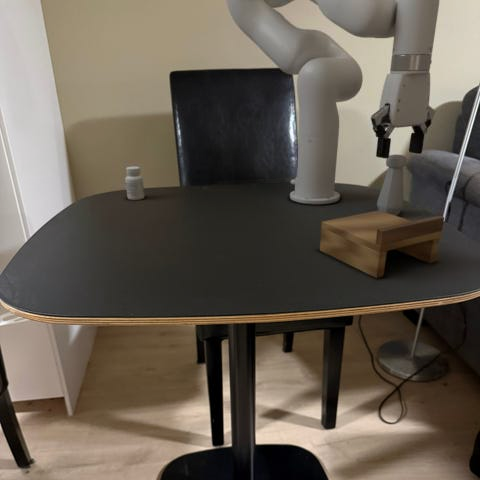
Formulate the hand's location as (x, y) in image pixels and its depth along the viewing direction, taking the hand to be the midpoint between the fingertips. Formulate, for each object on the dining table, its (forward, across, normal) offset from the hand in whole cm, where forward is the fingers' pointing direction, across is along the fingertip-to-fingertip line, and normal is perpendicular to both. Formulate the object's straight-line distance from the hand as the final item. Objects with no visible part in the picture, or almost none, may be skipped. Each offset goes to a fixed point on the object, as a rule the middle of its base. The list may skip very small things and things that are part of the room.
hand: (399, 155), depth 103 cm
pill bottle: (+12, +45, -46) cm, 65 cm away
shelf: (+13, +21, +17) cm, 30 cm away
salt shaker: (+13, 0, -1) cm, 13 cm away
